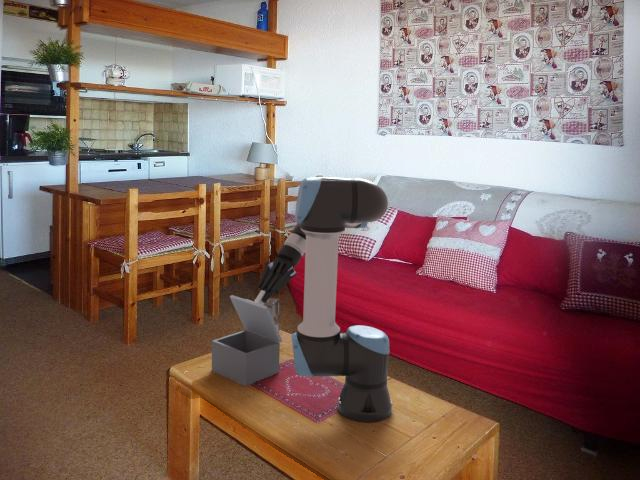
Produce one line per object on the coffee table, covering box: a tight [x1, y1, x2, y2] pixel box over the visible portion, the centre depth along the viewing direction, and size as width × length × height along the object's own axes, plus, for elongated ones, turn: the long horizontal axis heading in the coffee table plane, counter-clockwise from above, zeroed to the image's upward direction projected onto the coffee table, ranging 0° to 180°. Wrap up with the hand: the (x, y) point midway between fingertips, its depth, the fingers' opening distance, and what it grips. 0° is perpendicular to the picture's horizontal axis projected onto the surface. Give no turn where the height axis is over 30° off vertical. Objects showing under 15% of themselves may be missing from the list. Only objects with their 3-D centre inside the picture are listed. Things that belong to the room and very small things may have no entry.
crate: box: [211, 329, 281, 387], centre depth 193 cm, size 16×14×10 cm
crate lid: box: [229, 294, 283, 344], centre depth 193 cm, size 16×14×1 cm
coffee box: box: [257, 297, 281, 342], centre depth 215 cm, size 9×6×16 cm
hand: (254, 309), depth 193 cm, fingers closed
